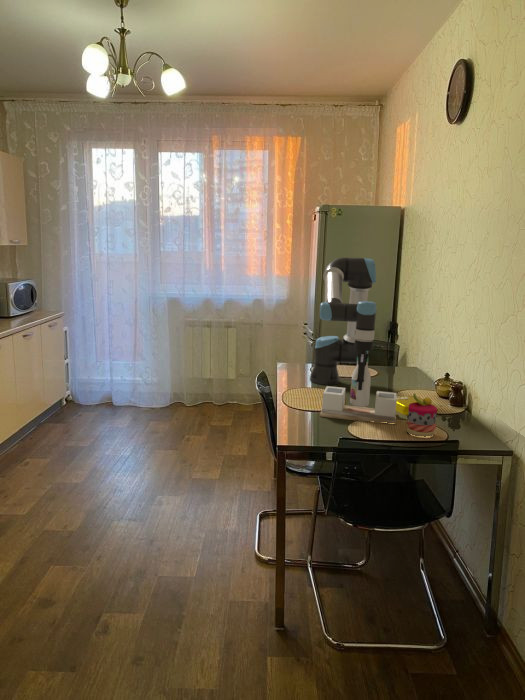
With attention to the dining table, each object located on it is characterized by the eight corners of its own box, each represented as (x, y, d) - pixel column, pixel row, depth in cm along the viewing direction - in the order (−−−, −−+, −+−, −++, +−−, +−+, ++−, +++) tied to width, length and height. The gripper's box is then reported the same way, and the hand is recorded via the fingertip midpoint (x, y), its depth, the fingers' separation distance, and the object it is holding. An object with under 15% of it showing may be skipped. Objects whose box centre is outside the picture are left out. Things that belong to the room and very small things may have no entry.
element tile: (404, 416, 221) (405, 405, 220) (386, 406, 235) (387, 395, 234) (435, 414, 226) (436, 404, 225) (415, 404, 240) (416, 394, 239)
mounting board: (324, 406, 230) (325, 400, 229) (395, 414, 223) (396, 407, 222) (319, 416, 215) (320, 410, 215) (395, 424, 208) (396, 418, 208)
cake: (429, 429, 205) (433, 392, 202) (439, 439, 194) (443, 399, 191) (402, 428, 204) (405, 391, 201) (410, 438, 194) (414, 399, 191)
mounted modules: (325, 404, 228) (326, 385, 226) (394, 411, 221) (396, 392, 220) (321, 412, 216) (323, 392, 215) (394, 420, 210) (396, 400, 208)
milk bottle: (369, 403, 221) (373, 356, 217) (367, 408, 213) (371, 359, 210) (350, 401, 223) (354, 354, 219) (348, 406, 215) (352, 357, 212)
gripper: (356, 335, 224) (352, 388, 228) (352, 343, 204) (348, 400, 208) (374, 337, 222) (370, 389, 226) (372, 344, 203) (368, 402, 207)
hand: (360, 394), depth 217 cm, fingers closed on milk bottle, 8 cm apart
